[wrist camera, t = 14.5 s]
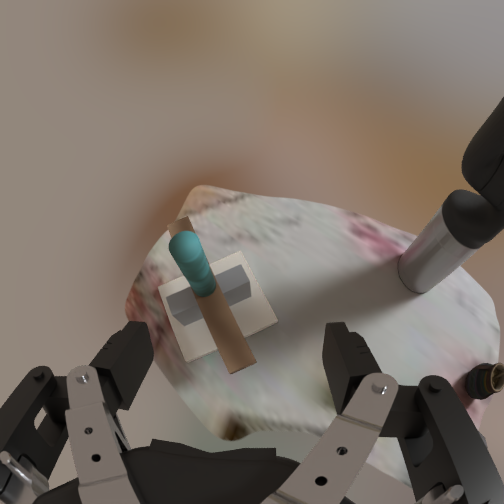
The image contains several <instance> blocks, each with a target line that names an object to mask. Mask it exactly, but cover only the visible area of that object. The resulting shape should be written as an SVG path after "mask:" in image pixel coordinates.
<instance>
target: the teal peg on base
mask: <svg viewBox="0 0 504 504" xmlns="http://www.w3.org/2000/svg"><path fill="white" fill-rule="evenodd" d="M167 227H168V230H169V232H170V235H171V238H172V239H171V240H170V243H169V251H170V253H171V255H172V256H173V258H174V260H175V261H176V263H177V265H178V266H179V268H180V270H181V271H182V273H183V275H184V276H185V278H186V279H187V281H188V283H189V284H190V287H191V289H192V291H193V294H194V296H195V299H196V301H197V303H198V306H199V308H200V310H201V313H202V315H203V317H204V320H205V322H206V324H207V326H208V329H209V331H210V333H211V335H212V338H213V340H214V342H215V344H216V346H217V348H218V351H219V353H220V355H221V357H222V359H223V361H224V363H225V365H226V367H227V369H228V371H229V373H230V374H233V373H235V372H237V371H240V370H242V369H244V368H246V367H248V366H250V365H253V364H255V363H257V362H256V360H255V358H254V356H253V354H252V352H251V350H250V348H249V346H248V344H247V342H246V340H245V338H244V336H243V334H242V332H241V330H240V328H239V326H238V324H237V322H236V320H235V318H234V316H233V314H232V312H231V310H230V307H229V305H228V303H227V301H226V299H225V297H224V295H223V293H222V291H221V289H220V286H219V284H218V282H217V280H216V278H215V276H214V274H213V271H212V269H211V267H210V265H209V263H208V260H207V258H206V256H205V253H204V251H203V248H202V246H201V243H200V240H199V238H198V236H197V235H196V234H195V231H194V229H193V227H192V224H191V222H190V220H189V218H188V216H187V217H185V218H182V219H180V220H178V221H175V222H173V223H171V224H169V225H167Z"/></svg>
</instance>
